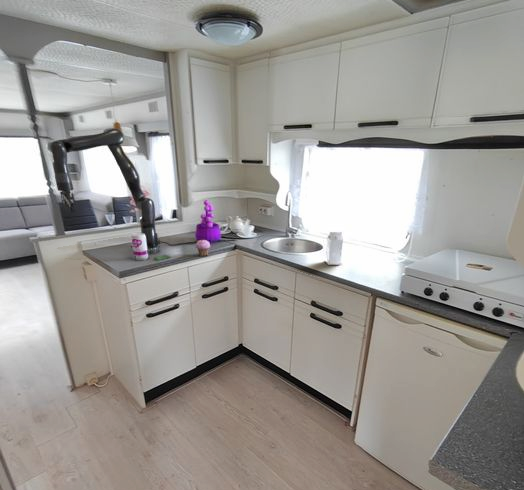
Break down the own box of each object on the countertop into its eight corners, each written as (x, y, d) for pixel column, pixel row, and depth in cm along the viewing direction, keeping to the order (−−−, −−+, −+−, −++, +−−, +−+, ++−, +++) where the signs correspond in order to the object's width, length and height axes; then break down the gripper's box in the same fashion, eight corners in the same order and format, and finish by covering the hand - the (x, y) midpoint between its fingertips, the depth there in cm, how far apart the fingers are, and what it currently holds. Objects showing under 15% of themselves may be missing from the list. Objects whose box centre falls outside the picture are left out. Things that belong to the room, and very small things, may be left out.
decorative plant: (202, 237, 249) (200, 197, 237) (225, 239, 244) (223, 198, 233) (191, 243, 232) (187, 201, 220) (215, 246, 227) (213, 202, 216)
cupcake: (200, 258, 201) (199, 242, 197) (194, 254, 207) (193, 239, 204) (212, 255, 206) (212, 240, 202) (206, 252, 212) (205, 237, 208)
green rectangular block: (166, 256, 203) (165, 254, 202) (169, 257, 201) (168, 255, 200) (154, 259, 198) (154, 257, 197) (157, 260, 195) (157, 258, 195)
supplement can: (144, 260, 194) (140, 236, 189) (131, 259, 196) (128, 235, 190) (151, 257, 202) (148, 233, 196) (138, 256, 203) (135, 232, 197)
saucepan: (162, 250, 216) (161, 244, 214) (153, 254, 206) (152, 249, 204) (136, 248, 220) (135, 242, 219) (126, 252, 210) (125, 246, 209)
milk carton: (325, 261, 199) (328, 230, 192) (336, 261, 199) (339, 230, 192) (328, 265, 192) (331, 233, 185) (340, 264, 193) (343, 233, 186)
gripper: (75, 181, 172) (82, 212, 179) (67, 180, 182) (73, 209, 188) (60, 182, 167) (67, 214, 174) (52, 180, 177) (59, 210, 183)
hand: (70, 211), depth 181 cm, fingers open, 8 cm apart
